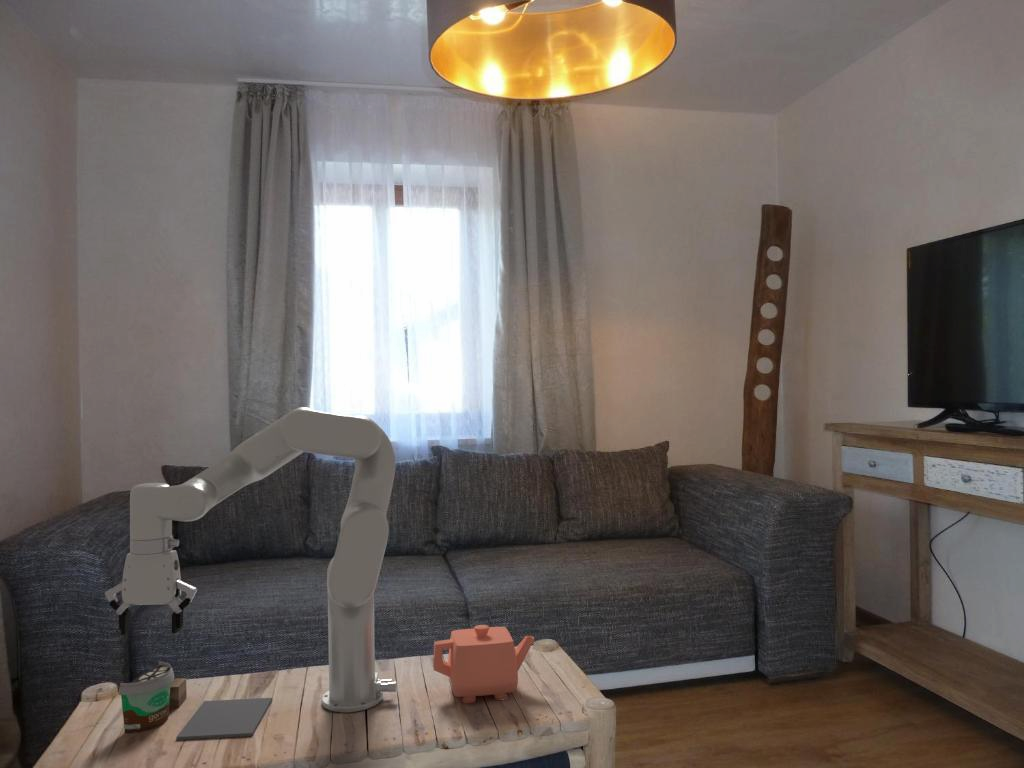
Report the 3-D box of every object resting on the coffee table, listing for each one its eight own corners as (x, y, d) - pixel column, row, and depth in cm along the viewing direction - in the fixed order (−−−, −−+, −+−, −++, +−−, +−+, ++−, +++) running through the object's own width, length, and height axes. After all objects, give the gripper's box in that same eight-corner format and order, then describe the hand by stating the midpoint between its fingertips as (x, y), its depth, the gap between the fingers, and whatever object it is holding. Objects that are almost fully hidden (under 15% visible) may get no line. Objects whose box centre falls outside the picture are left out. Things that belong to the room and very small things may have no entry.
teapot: (529, 676, 169) (528, 613, 169) (541, 699, 156) (540, 631, 156) (431, 685, 165) (430, 620, 165) (436, 709, 152) (435, 640, 152)
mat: (272, 700, 158) (272, 697, 158) (252, 736, 142) (252, 732, 142) (204, 703, 157) (204, 701, 157) (176, 740, 141) (176, 736, 141)
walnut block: (186, 699, 160) (186, 678, 160) (178, 708, 155) (178, 686, 155) (164, 700, 159) (164, 679, 159) (156, 709, 155) (156, 687, 155)
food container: (147, 739, 142) (146, 686, 142) (119, 736, 143) (118, 684, 143) (188, 710, 154) (187, 662, 154) (161, 708, 155) (160, 660, 155)
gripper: (202, 541, 153) (202, 624, 153) (114, 542, 151) (114, 627, 151) (189, 549, 145) (189, 637, 145) (96, 551, 144) (97, 639, 144)
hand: (151, 632), depth 148 cm, fingers open, 9 cm apart
